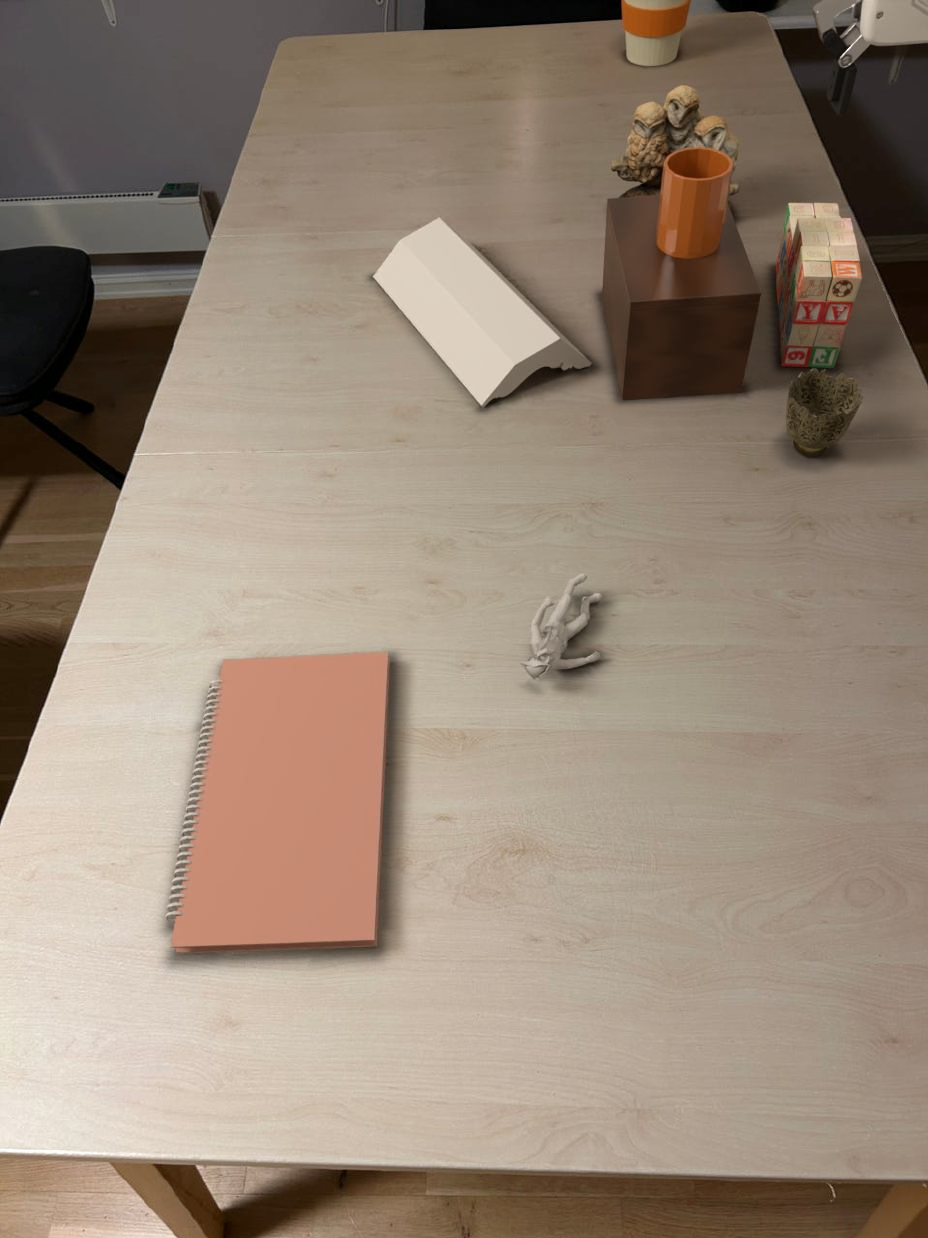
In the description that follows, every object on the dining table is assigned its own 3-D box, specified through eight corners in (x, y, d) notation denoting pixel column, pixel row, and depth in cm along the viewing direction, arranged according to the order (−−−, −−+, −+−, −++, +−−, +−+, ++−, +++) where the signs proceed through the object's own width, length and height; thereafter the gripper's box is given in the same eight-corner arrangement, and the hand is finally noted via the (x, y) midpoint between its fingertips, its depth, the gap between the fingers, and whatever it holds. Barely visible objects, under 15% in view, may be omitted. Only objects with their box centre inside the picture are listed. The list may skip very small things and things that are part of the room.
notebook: (216, 670, 90) (211, 658, 88) (390, 661, 89) (387, 649, 88) (163, 954, 73) (155, 946, 71) (377, 947, 72) (373, 938, 71)
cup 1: (714, 223, 109) (725, 144, 102) (725, 256, 104) (739, 177, 97) (651, 227, 109) (659, 149, 102) (661, 261, 105) (669, 182, 98)
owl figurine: (603, 231, 134) (609, 107, 120) (613, 190, 141) (621, 68, 127) (731, 239, 130) (753, 111, 117) (736, 196, 137) (757, 71, 124)
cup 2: (852, 438, 104) (872, 379, 98) (832, 479, 100) (851, 421, 94) (786, 418, 107) (802, 360, 100) (764, 458, 103) (779, 400, 97)
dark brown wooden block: (707, 287, 124) (723, 189, 113) (741, 392, 110) (761, 292, 100) (601, 294, 124) (607, 198, 114) (622, 400, 111) (630, 301, 100)
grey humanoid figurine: (621, 618, 92) (592, 689, 82) (582, 638, 95) (550, 708, 85) (574, 557, 90) (539, 623, 81) (536, 579, 93) (498, 645, 83)
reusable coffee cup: (649, 35, 175) (657, -60, 163) (701, 53, 168) (713, -45, 157) (602, 57, 170) (606, -40, 158) (653, 76, 164) (662, -23, 152)
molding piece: (420, 309, 137) (373, 276, 130) (471, 243, 133) (425, 205, 126) (529, 435, 118) (481, 405, 111) (591, 363, 115) (546, 327, 107)
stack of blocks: (773, 268, 125) (793, 177, 116) (822, 269, 124) (845, 178, 115) (781, 367, 112) (803, 274, 103) (835, 369, 111) (863, 276, 102)
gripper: (854, -108, 69) (804, 131, 82) (1097, -130, 68) (1006, 115, 81) (828, -137, 73) (785, 93, 87) (1055, -158, 72) (975, 78, 86)
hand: (892, 104), depth 84 cm, fingers open, 9 cm apart
